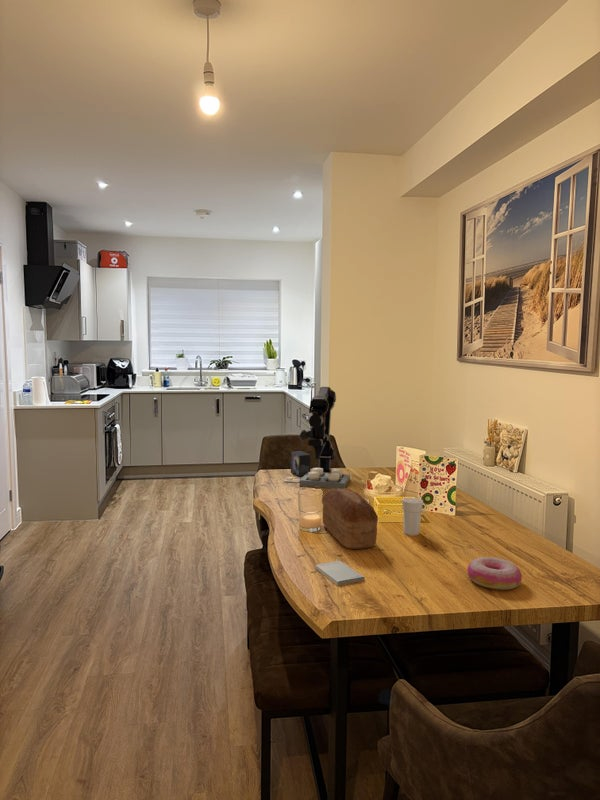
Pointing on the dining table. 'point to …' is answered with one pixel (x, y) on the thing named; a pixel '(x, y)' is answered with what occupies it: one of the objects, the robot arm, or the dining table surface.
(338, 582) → the hard drive
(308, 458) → the small box
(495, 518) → the dining table surface
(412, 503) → the cup
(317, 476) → the button
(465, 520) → the dining table surface
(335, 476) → the button
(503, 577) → the donut
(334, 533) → the bread
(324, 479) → the board
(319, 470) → the button
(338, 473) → the button
